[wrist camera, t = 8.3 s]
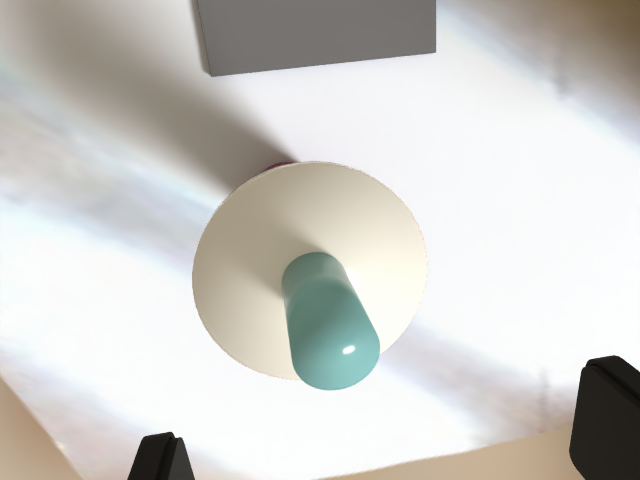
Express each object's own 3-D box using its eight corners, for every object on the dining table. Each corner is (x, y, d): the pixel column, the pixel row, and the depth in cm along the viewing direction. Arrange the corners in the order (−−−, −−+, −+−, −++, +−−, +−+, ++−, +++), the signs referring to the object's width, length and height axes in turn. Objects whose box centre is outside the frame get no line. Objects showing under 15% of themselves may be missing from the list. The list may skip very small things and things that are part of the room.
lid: (418, 146, 17) (495, 173, 11) (421, 349, 20) (481, 442, 15) (170, 178, 16) (126, 225, 10) (219, 386, 19) (206, 500, 14)
